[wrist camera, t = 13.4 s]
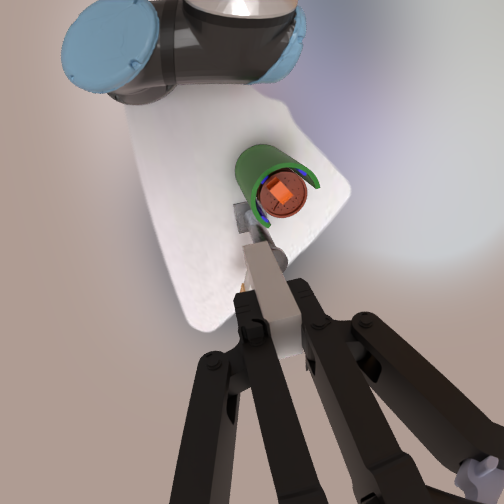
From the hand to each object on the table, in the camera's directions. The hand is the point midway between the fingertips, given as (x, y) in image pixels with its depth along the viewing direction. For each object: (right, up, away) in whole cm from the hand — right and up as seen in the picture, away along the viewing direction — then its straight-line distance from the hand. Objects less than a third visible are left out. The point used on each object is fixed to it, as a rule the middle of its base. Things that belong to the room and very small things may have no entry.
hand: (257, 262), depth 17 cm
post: (-1, +8, +38) cm, 39 cm away
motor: (+1, +16, +34) cm, 37 cm away
